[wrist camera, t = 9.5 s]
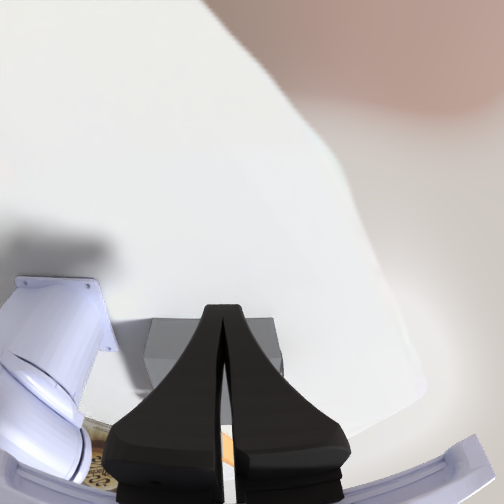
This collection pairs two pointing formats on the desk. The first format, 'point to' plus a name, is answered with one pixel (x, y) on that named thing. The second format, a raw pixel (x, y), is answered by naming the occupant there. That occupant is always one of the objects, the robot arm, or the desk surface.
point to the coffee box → (98, 457)
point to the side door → (227, 449)
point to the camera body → (177, 338)
